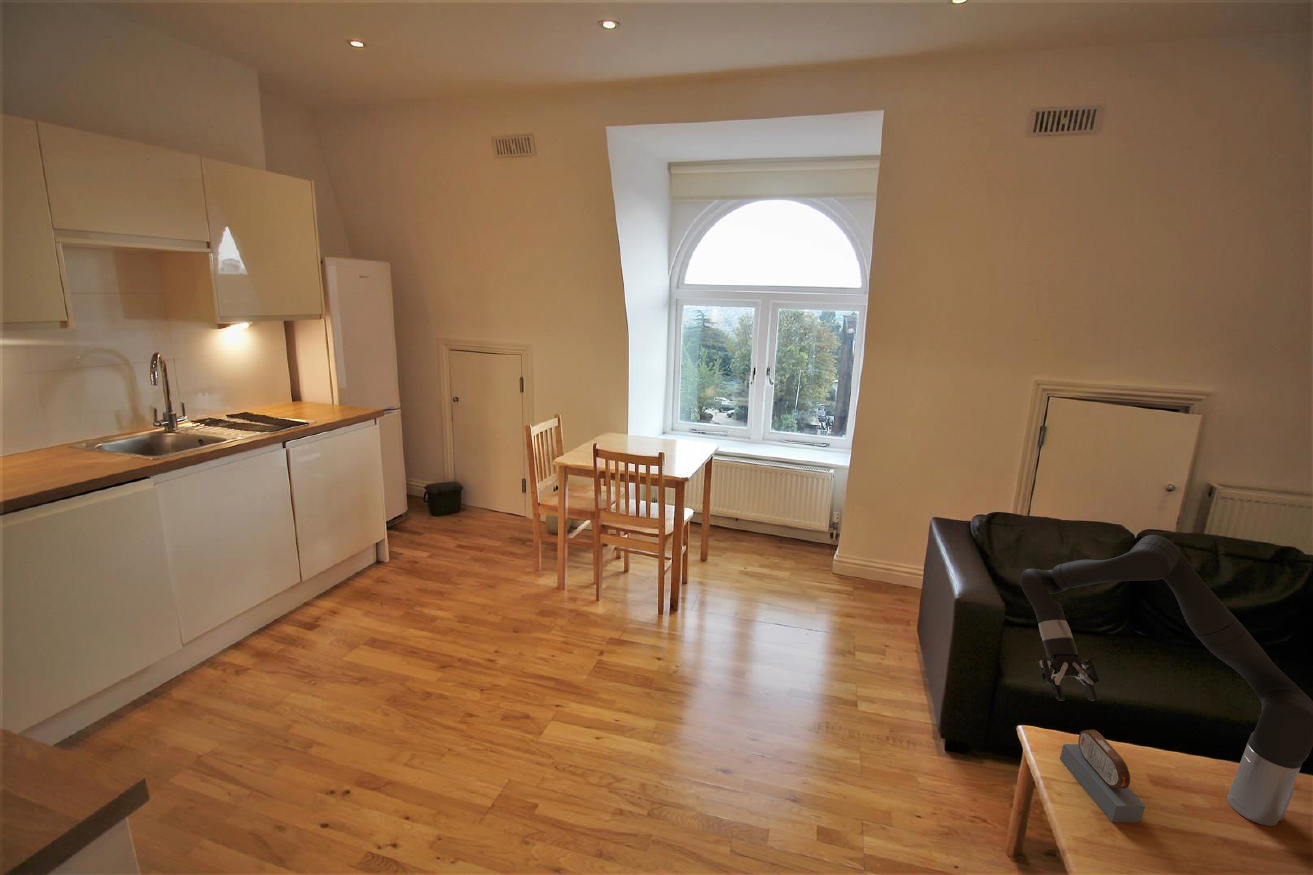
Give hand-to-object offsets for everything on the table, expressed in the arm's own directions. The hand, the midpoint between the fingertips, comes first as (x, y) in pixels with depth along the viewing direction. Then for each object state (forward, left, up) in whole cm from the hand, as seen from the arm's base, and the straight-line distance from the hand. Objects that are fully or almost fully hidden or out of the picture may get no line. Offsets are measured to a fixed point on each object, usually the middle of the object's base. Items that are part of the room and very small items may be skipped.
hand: (1077, 700), depth 164 cm
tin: (+2, +14, -10) cm, 17 cm away
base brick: (+2, +15, -15) cm, 21 cm away
